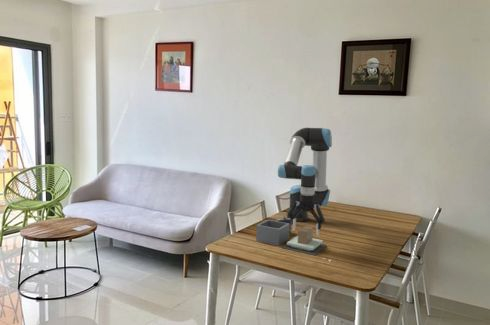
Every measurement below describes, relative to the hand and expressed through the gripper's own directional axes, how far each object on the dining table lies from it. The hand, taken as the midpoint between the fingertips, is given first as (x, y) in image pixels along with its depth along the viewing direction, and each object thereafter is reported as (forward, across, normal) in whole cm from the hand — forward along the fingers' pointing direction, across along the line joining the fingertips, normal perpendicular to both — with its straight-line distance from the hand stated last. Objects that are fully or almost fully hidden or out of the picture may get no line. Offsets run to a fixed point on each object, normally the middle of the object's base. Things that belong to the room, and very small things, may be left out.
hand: (305, 232), depth 214 cm
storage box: (+8, -20, +1) cm, 22 cm away
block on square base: (+8, 0, 0) cm, 8 cm away
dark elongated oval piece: (+9, -20, +15) cm, 26 cm away
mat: (+8, 0, 0) cm, 8 cm away
